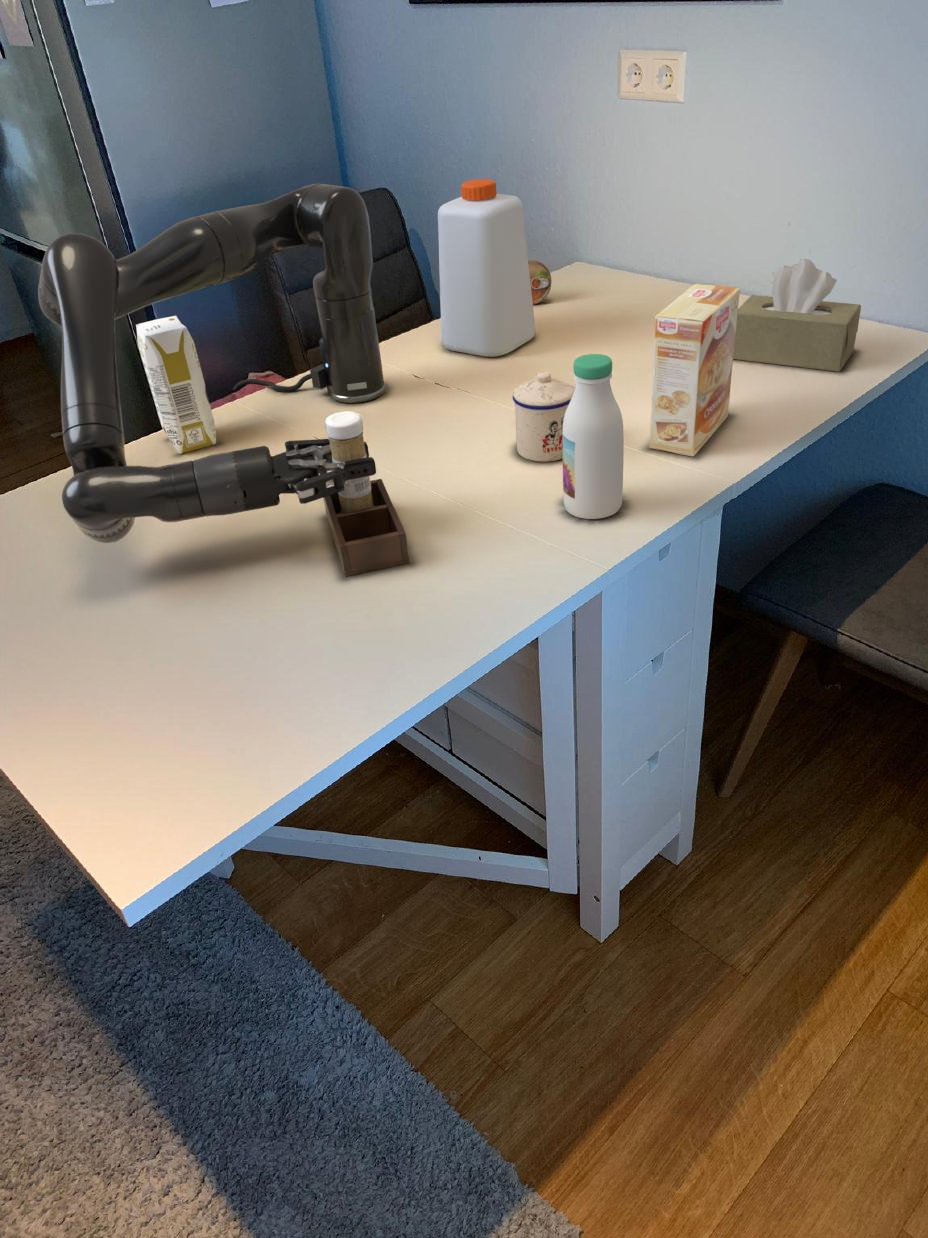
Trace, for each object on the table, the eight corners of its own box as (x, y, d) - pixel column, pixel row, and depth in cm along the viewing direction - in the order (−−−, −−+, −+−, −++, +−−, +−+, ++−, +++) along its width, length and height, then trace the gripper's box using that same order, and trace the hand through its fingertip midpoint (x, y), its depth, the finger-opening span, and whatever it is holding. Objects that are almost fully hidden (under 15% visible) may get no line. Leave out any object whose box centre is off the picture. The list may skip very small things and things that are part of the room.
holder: (345, 576, 114) (339, 546, 111) (327, 518, 126) (321, 489, 124) (409, 562, 115) (405, 533, 113) (385, 506, 128) (381, 478, 125)
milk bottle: (629, 496, 124) (633, 350, 113) (612, 524, 119) (614, 374, 107) (574, 488, 127) (573, 345, 116) (555, 515, 122) (551, 368, 110)
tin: (479, 306, 194) (476, 264, 189) (481, 301, 196) (478, 260, 191) (551, 304, 191) (550, 262, 186) (552, 299, 194) (551, 257, 189)
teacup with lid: (548, 469, 132) (546, 391, 126) (502, 452, 138) (498, 376, 131) (602, 439, 139) (602, 363, 132) (556, 424, 144) (554, 351, 138)
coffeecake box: (694, 457, 132) (704, 320, 120) (647, 449, 135) (652, 314, 124) (730, 416, 142) (742, 286, 130) (685, 409, 145) (693, 281, 134)
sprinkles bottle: (367, 501, 125) (354, 406, 117) (380, 515, 122) (367, 419, 114) (335, 510, 123) (319, 415, 116) (347, 525, 120) (331, 428, 112)
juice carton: (175, 457, 146) (141, 338, 134) (163, 438, 152) (129, 323, 141) (222, 445, 148) (192, 326, 137) (208, 426, 154) (178, 312, 143)
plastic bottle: (479, 324, 185) (468, 170, 168) (544, 334, 177) (539, 174, 161) (433, 349, 175) (416, 189, 159) (499, 361, 167) (489, 194, 151)
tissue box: (855, 351, 158) (871, 255, 149) (841, 372, 152) (857, 273, 142) (745, 339, 167) (754, 247, 157) (727, 358, 160) (736, 264, 151)
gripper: (238, 483, 123) (365, 460, 126) (247, 535, 112) (386, 508, 115) (226, 431, 119) (358, 408, 122) (233, 479, 108) (378, 453, 111)
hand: (370, 457), depth 119 cm, fingers closed on sprinkles bottle, 4 cm apart
